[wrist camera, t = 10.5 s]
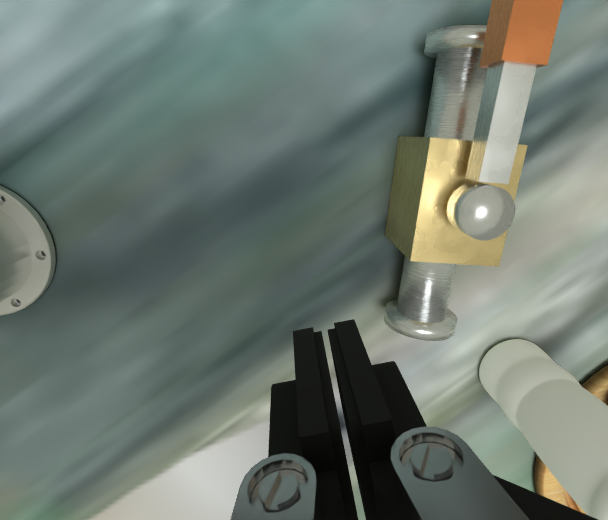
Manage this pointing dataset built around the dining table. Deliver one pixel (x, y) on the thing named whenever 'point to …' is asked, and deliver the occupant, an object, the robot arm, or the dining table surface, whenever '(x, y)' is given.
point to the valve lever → (502, 112)
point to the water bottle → (553, 418)
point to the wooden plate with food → (602, 386)
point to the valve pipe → (440, 189)
